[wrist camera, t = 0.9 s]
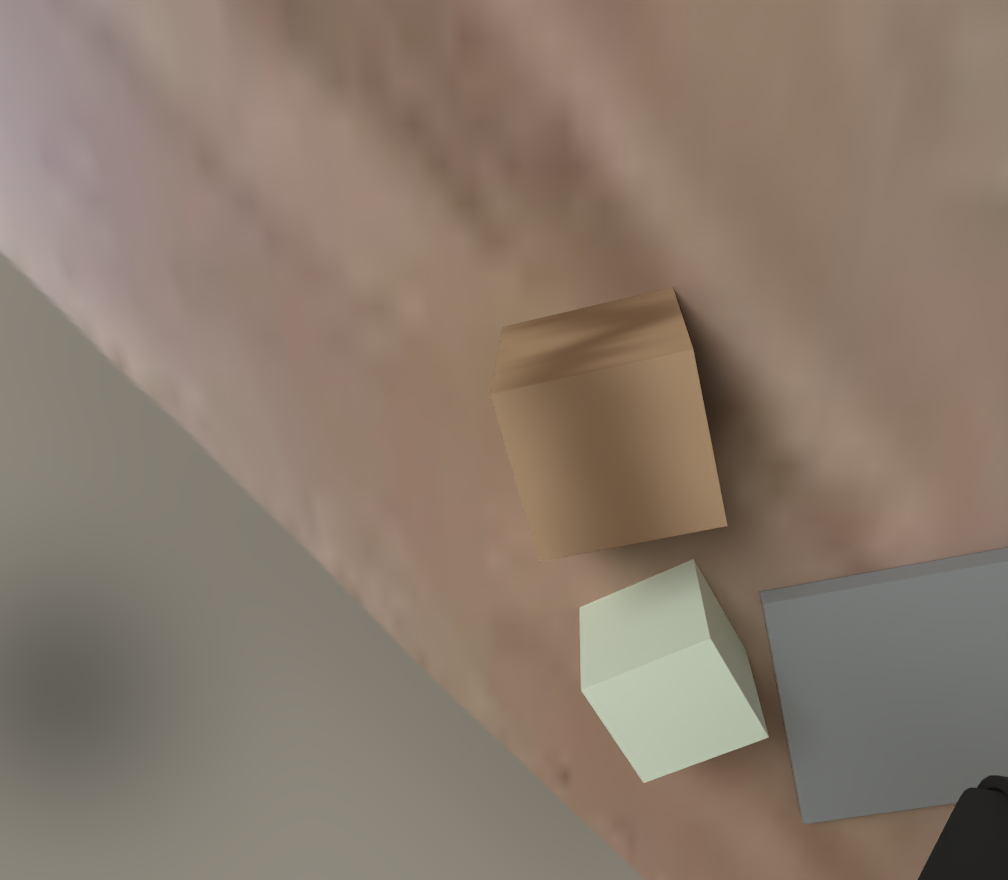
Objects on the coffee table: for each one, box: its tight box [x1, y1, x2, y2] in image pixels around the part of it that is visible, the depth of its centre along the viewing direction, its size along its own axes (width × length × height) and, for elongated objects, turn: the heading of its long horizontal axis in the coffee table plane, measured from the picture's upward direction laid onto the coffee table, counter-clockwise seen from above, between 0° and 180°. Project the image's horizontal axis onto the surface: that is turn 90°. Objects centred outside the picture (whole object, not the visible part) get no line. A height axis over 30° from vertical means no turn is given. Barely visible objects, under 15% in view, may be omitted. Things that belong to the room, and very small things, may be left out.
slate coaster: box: [760, 548, 1008, 824], centre depth 39 cm, size 12×12×1 cm
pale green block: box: [580, 559, 769, 783], centre depth 37 cm, size 5×5×5 cm
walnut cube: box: [490, 287, 727, 562], centre depth 32 cm, size 6×6×6 cm
